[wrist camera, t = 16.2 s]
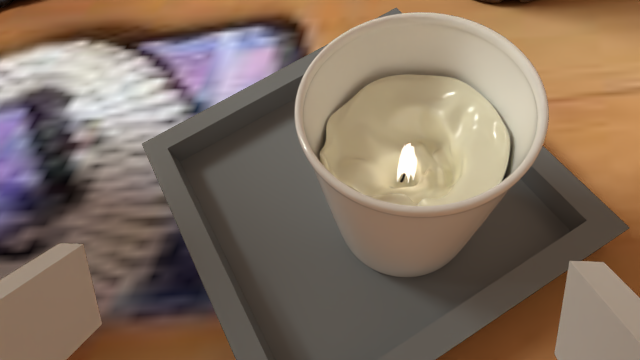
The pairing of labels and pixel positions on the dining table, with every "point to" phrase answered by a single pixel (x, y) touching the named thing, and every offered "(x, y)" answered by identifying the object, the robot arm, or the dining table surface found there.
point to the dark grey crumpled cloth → (5, 2)
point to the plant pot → (497, 0)
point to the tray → (332, 252)
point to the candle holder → (418, 134)
